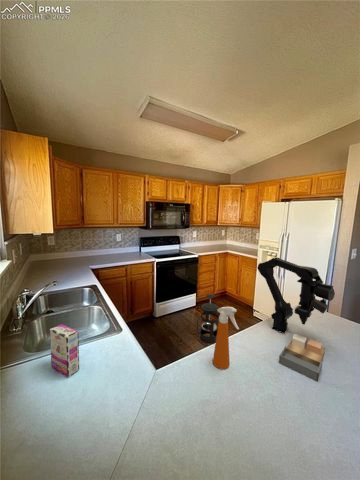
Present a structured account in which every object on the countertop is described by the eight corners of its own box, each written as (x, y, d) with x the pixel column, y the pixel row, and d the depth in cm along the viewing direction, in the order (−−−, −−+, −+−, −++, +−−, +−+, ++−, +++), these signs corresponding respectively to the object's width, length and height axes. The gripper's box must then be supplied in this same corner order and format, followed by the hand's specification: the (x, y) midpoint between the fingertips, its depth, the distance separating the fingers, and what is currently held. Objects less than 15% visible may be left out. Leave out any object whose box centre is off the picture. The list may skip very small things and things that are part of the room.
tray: (278, 362, 86) (279, 355, 85) (284, 352, 92) (285, 345, 92) (317, 381, 76) (318, 373, 76) (321, 368, 83) (322, 361, 82)
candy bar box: (80, 369, 79) (79, 330, 77) (68, 378, 74) (66, 337, 73) (63, 359, 84) (61, 323, 82) (50, 367, 80) (48, 328, 78)
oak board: (285, 353, 92) (286, 348, 92) (293, 340, 101) (293, 336, 101) (319, 368, 83) (320, 362, 83) (324, 353, 93) (324, 348, 92)
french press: (216, 332, 107) (218, 291, 104) (221, 343, 98) (224, 298, 95) (194, 333, 106) (196, 291, 103) (198, 344, 96) (200, 299, 94)
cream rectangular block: (291, 343, 95) (292, 338, 95) (294, 339, 99) (295, 333, 98) (304, 348, 92) (304, 342, 91) (306, 343, 95) (306, 338, 95)
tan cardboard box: (306, 349, 91) (307, 343, 91) (308, 344, 95) (309, 338, 94) (319, 355, 88) (320, 348, 87) (321, 349, 91) (322, 343, 91)
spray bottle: (230, 378, 77) (234, 313, 74) (209, 362, 85) (212, 303, 82) (240, 369, 81) (244, 308, 78) (219, 355, 89) (222, 299, 86)
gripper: (324, 303, 86) (320, 337, 88) (329, 292, 100) (326, 322, 102) (295, 296, 94) (292, 327, 95) (304, 286, 107) (301, 314, 109)
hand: (304, 322), depth 100 cm, fingers open, 4 cm apart
